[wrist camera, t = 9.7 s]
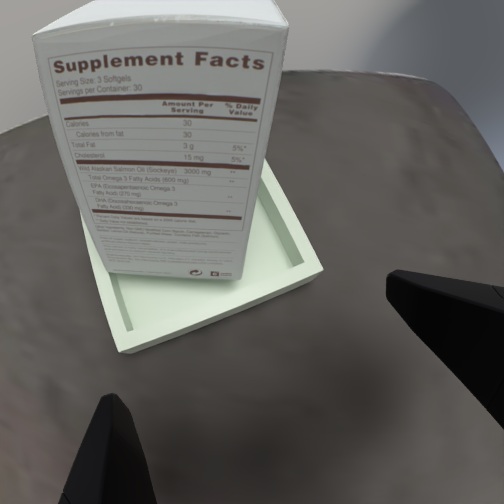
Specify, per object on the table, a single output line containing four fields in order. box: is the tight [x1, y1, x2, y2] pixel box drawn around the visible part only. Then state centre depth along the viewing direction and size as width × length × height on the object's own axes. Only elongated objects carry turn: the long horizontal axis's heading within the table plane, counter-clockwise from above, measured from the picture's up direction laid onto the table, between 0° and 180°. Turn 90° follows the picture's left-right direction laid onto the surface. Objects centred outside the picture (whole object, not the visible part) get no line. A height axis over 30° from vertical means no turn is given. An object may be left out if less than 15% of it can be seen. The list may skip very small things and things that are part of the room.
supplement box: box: [32, 0, 289, 280], centre depth 13 cm, size 7×7×13 cm
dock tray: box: [80, 159, 323, 354], centre depth 18 cm, size 12×12×2 cm
